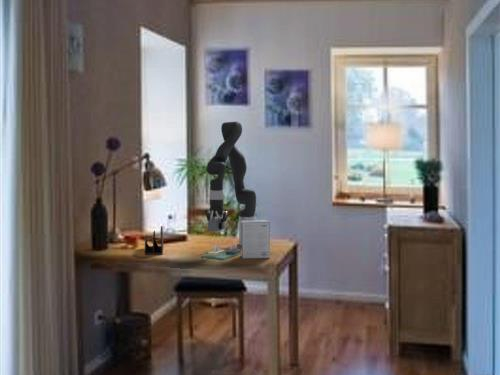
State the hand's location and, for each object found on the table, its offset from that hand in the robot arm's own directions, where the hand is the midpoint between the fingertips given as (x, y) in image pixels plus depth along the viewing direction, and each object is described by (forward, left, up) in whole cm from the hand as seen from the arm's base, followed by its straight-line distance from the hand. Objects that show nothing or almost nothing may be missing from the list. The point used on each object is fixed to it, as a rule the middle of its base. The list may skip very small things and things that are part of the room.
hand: (216, 228), depth 365 cm
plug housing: (0, 0, -1) cm, 1 cm away
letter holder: (+8, -37, -15) cm, 41 cm away
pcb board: (-2, +2, -15) cm, 15 cm away
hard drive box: (-8, +20, -15) cm, 26 cm away
